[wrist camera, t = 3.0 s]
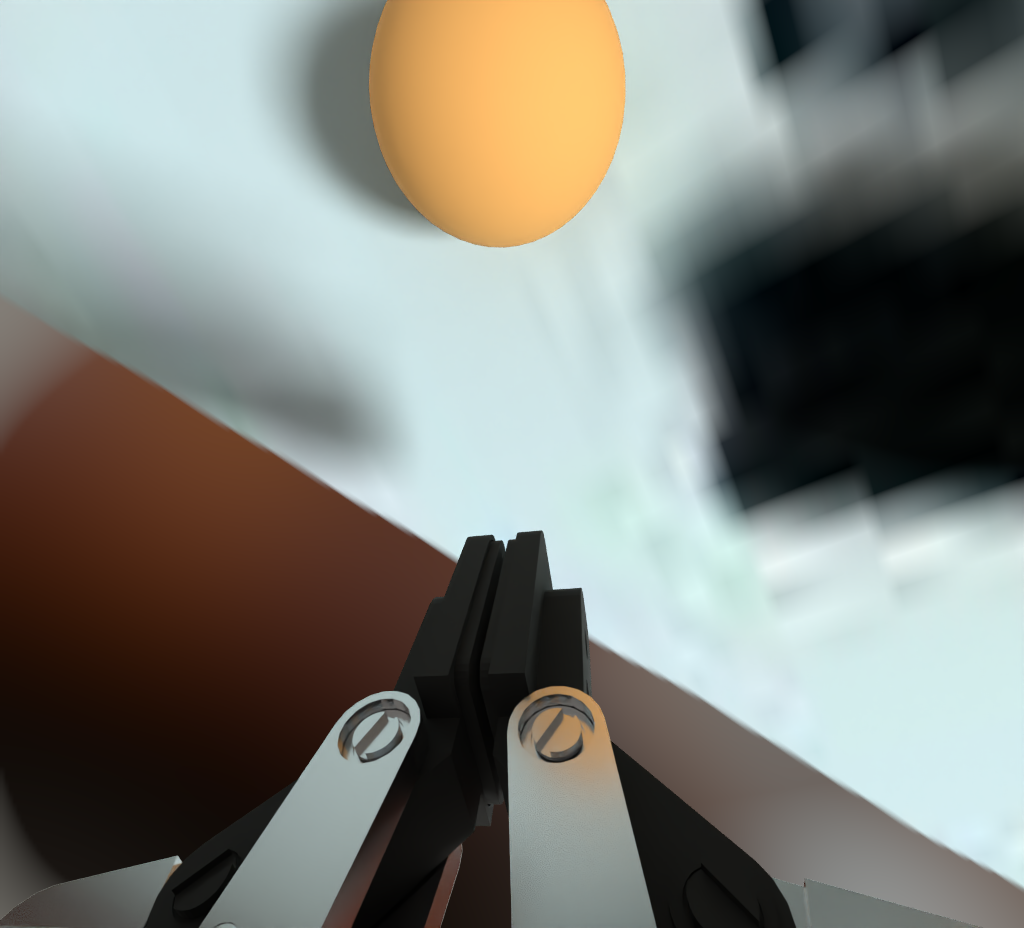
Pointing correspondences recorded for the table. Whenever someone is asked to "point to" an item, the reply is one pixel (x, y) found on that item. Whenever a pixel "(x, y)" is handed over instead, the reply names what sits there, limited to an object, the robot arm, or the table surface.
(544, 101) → the ball
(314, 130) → the table surface
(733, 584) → the table surface
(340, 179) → the table surface
